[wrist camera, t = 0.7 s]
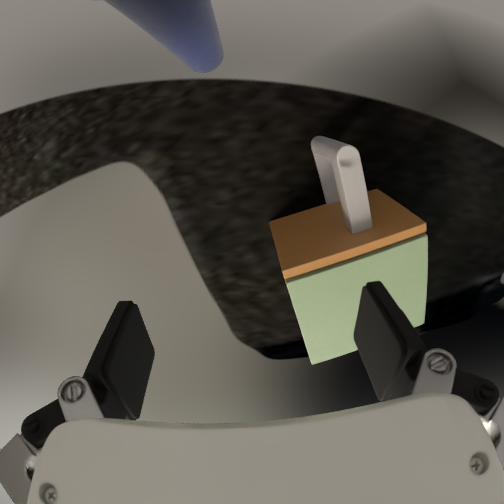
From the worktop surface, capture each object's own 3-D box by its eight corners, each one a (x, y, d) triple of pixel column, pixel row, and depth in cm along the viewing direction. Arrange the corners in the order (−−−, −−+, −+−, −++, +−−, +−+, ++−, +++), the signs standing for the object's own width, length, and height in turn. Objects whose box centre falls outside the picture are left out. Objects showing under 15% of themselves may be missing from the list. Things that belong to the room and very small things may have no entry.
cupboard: (268, 219, 32) (286, 283, 21) (366, 189, 31) (427, 235, 20) (291, 288, 37) (311, 364, 25) (376, 260, 36) (424, 323, 24)
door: (246, 152, 29) (251, 179, 17) (352, 122, 27) (416, 134, 16) (268, 217, 32) (284, 279, 21) (366, 187, 31) (426, 231, 20)
